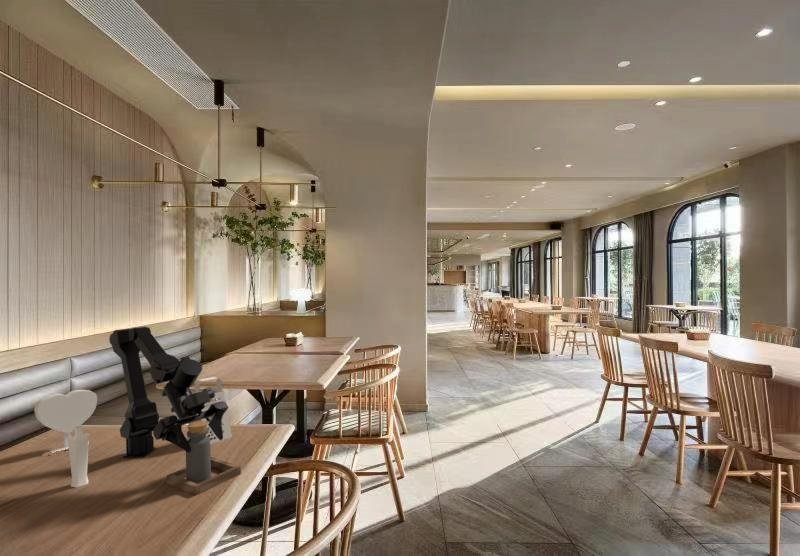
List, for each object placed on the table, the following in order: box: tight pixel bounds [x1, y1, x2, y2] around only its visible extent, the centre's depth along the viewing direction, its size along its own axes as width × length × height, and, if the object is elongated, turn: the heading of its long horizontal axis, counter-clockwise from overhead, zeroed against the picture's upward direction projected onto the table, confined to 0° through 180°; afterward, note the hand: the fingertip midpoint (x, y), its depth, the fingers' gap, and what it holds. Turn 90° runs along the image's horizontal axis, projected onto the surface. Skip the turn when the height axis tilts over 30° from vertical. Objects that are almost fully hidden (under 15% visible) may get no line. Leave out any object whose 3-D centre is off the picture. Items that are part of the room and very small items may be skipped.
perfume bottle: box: [68, 424, 90, 489], centre depth 109 cm, size 5×4×15 cm
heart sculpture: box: [33, 389, 98, 453], centre depth 134 cm, size 16×5×18 cm, turn 143°
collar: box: [166, 456, 242, 496], centre depth 110 cm, size 13×13×2 cm
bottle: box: [185, 421, 212, 484], centre depth 109 cm, size 6×6×15 cm
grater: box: [186, 376, 233, 445], centre depth 140 cm, size 10×10×20 cm
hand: (206, 445), depth 110 cm, fingers open, 9 cm apart
